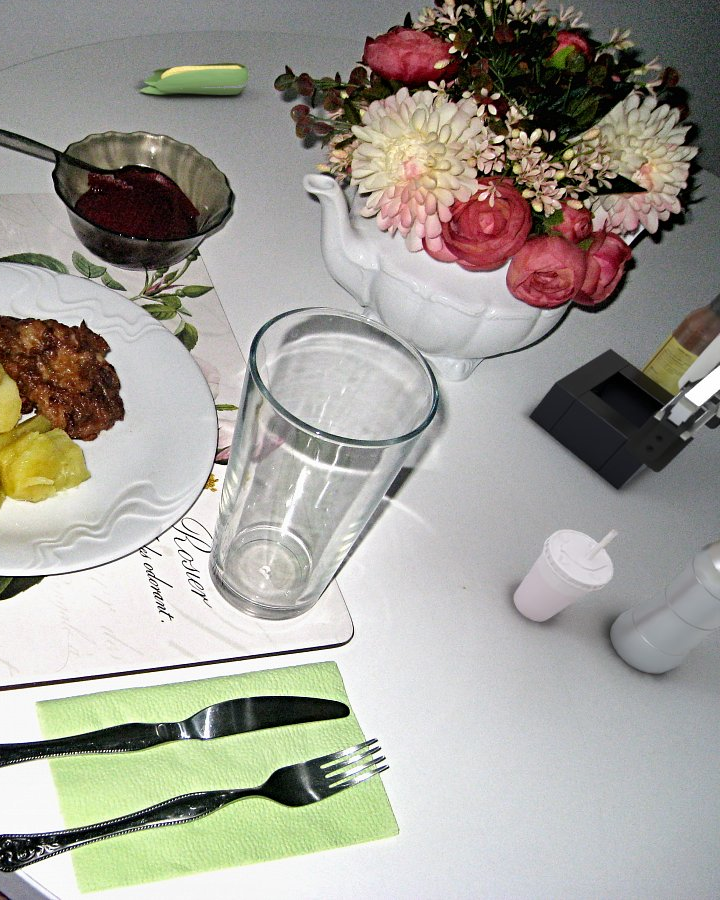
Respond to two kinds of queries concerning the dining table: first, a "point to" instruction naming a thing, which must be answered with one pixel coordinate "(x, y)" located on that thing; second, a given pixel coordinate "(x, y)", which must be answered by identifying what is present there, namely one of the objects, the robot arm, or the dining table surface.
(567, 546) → the smoothie
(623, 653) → the plastic bottle
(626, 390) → the dark storage bin
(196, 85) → the edible corn
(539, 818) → the dining table surface
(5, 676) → the dining table surface
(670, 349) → the sauce bottle
